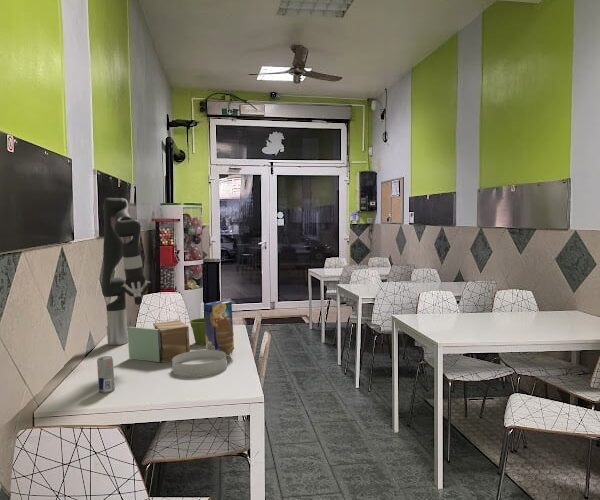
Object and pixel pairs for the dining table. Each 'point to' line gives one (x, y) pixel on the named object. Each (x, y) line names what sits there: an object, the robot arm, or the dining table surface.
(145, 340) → the box flap
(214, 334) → the beverage box
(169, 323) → the oak storage box
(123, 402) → the dining table surface
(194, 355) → the dish
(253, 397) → the dining table surface
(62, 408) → the dining table surface
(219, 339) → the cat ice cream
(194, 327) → the plant pot
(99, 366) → the energy drink
